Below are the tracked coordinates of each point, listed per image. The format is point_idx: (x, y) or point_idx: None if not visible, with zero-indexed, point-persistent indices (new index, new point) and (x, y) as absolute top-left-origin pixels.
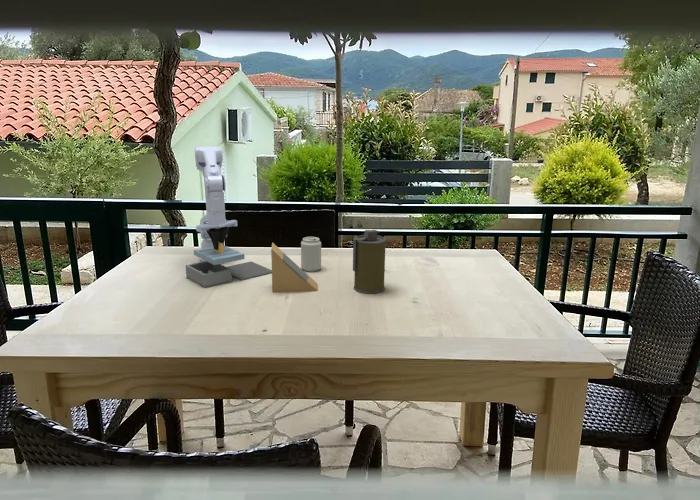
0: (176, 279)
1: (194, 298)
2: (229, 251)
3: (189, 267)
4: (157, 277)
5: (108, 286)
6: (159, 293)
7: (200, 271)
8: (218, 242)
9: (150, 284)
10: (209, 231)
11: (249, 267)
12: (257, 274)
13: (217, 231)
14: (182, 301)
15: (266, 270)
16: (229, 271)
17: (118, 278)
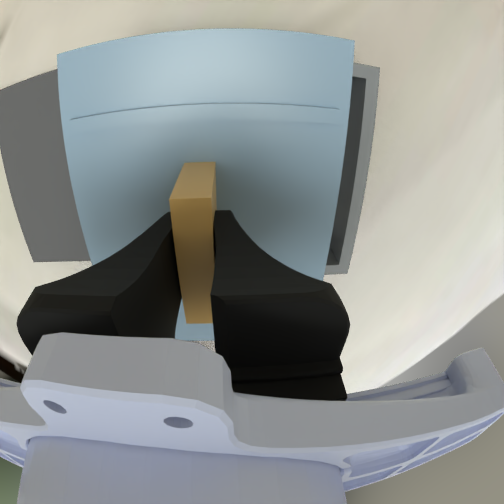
0: (367, 241)
1: (432, 8)
2: (122, 185)
3: (355, 235)
4: (389, 291)
5: (483, 286)
6: (475, 148)
7: None
8: (195, 263)
9: (441, 244)
10: (331, 374)
11: (52, 196)
12: (56, 80)
13: (237, 324)
14: (467, 24)
15: (10, 119)
16: None
17: (439, 326)
